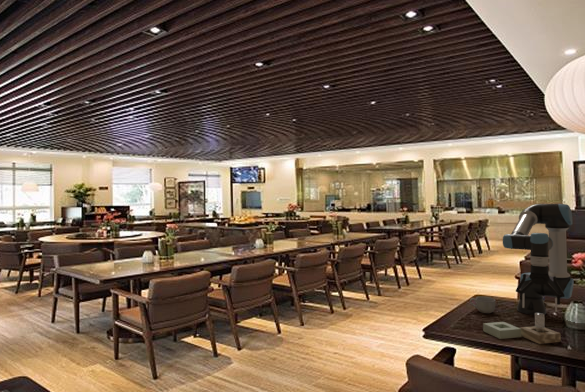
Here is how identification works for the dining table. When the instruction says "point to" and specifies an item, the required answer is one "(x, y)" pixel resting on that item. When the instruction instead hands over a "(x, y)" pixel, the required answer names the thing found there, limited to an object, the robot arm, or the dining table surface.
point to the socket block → (502, 330)
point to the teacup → (484, 304)
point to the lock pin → (539, 322)
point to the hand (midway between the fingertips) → (539, 309)
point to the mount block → (540, 335)
